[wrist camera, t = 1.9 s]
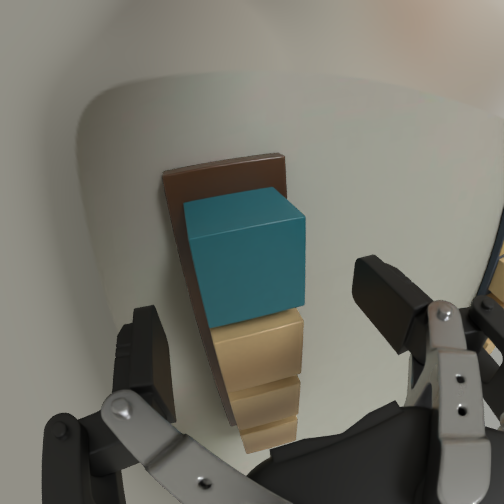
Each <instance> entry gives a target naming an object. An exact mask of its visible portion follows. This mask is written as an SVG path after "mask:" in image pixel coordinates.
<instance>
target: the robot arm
mask: <svg viewBox="0 0 504 504" xmlns="http://www.w3.org/2000/svg"><path fill="white" fill-rule="evenodd" d="M352 295H353V298H354V301H355V303H356V304H357V305H358V306H359V307H360V309H361V310H362V311H363V312H364V313H365V315H366V316H367V317H368V318H369V319H370V321H371V322H372V323H373V324H374V325H375V327H376V328H377V329H378V330H379V332H380V333H381V334H382V335H383V336H384V338H385V339H386V340H387V341H388V343H389V344H390V345H391V346H392V348H393V349H394V350H395V351H396V353H397V354H398V355H399V354H402V353H404V352H406V351H408V350H409V351H410V353H411V354H410V357H409V370H408V388H407V397H406V401H405V404H404V407H399V405H398V404H397V402H396V401H393V402H391V403H389V404H387V405H385V406H383V407H381V408H378V409H376V410H374V411H372V412H370V413H368V414H367V415H366V416H364V417H363V418H362V419H361V420H359V421H358V422H357V423H355V424H354V425H353V426H351V427H350V428H349V429H347V430H346V431H345V432H343V433H341V434H337V435H330V436H323V437H316V438H307V439H302V440H299V441H296V442H293V443H290V444H287V445H283V446H280V447H276V448H273V449H270V458H268V459H266V460H264V461H263V462H261V463H260V464H259V465H257V466H256V467H255V468H254V469H253V470H251V471H250V472H249V473H248V475H247V476H245V475H244V474H242V473H240V472H239V471H237V470H236V469H234V468H233V467H231V466H230V465H229V464H227V463H226V462H224V461H223V460H221V459H220V458H219V457H217V456H216V455H214V454H213V453H212V452H210V451H209V450H208V449H206V448H205V447H204V446H202V445H201V444H200V443H198V442H197V441H196V440H195V439H193V438H192V437H190V436H189V435H187V434H182V433H181V432H180V431H178V430H177V429H176V428H175V427H174V426H172V425H171V424H170V423H175V422H176V415H175V406H174V398H173V388H172V378H171V367H170V355H169V346H168V341H167V338H166V335H165V332H164V329H163V327H162V324H161V321H160V319H159V316H158V313H157V311H156V308H155V306H154V305H150V306H145V307H140V308H135V309H134V312H133V323H130V324H125V325H123V327H122V329H121V330H120V332H119V334H118V336H117V344H116V347H117V349H116V353H115V356H116V358H115V364H114V375H113V389H112V394H110V395H109V396H108V397H107V398H106V399H105V401H104V402H103V404H102V407H101V410H100V411H98V412H96V413H94V414H91V415H89V416H86V417H84V418H81V419H78V420H77V419H76V418H75V417H74V416H72V415H71V414H69V413H60V414H57V415H55V416H53V417H52V418H51V419H50V420H49V421H48V422H47V424H46V426H45V429H44V437H43V453H42V504H126V501H125V494H124V488H123V481H122V473H121V470H122V469H125V468H127V467H130V466H132V465H135V464H137V463H141V464H142V465H143V466H144V467H145V469H146V471H147V472H148V473H149V474H150V475H151V476H152V477H153V478H154V479H155V480H156V481H157V482H159V484H161V485H162V486H163V487H164V488H165V489H166V490H167V491H168V492H169V493H170V494H172V495H173V496H174V497H175V498H176V499H177V500H178V501H180V502H181V503H182V504H504V308H502V307H501V306H500V305H499V304H498V303H497V302H496V301H495V300H494V299H492V298H490V297H488V296H485V295H478V296H476V297H475V298H474V299H473V301H472V304H471V306H470V307H467V308H460V309H458V308H457V307H456V306H455V305H453V304H452V303H450V302H447V301H443V300H437V301H433V300H432V299H431V298H430V297H429V296H428V295H427V294H425V293H424V292H423V291H422V290H421V289H420V288H419V287H418V286H417V285H415V284H414V283H413V282H411V280H410V279H409V278H408V277H405V275H404V274H403V273H402V272H401V271H400V270H398V269H397V268H395V267H393V266H391V265H389V264H387V263H384V262H383V261H382V260H380V259H379V258H378V257H377V256H376V255H369V256H365V257H362V258H358V259H357V260H356V262H355V268H354V277H353V285H352ZM488 338H489V339H490V341H491V342H492V343H493V344H494V345H495V346H496V347H497V348H498V349H499V351H500V352H501V353H502V356H503V362H502V364H501V366H500V367H499V365H498V364H497V363H496V362H495V361H494V359H493V358H492V357H491V356H490V355H489V354H488V352H487V351H486V350H485V349H484V348H483V346H484V344H485V342H486V340H487V339H488ZM483 398H484V400H485V401H486V403H487V404H488V405H489V406H490V408H491V410H492V411H493V412H494V414H495V415H496V417H497V418H498V420H499V421H500V425H501V426H500V427H499V428H498V430H496V429H492V428H489V427H485V422H484V406H483Z"/></svg>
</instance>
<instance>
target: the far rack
mask: <svg viewBox="0 0 504 504" xmlns="http://www.w3.org/2000/svg"><path fill="white" fill-rule="evenodd" d="M478 295H485V296H488V297H490V298H492V299H494V300H495V301H496V302H497V303H498V304H499V305H500V306H501V307H502V308H504V211H503V215H502V219H501V223H500V227H499V231H498V235H497V238H496V242H495V245H494V248H493V252H492V255H491V258H490V261H489V264H488V267H487V270H486V273H485V275H484V278H483V281H482V284H481V286H480V289H479V291H478V294H477V296H478ZM483 348H484V349H485V350H486V351H487V352H488V354H491V353H492V351H493V350H494V348H495V345H494V344H493V343H492V342H491V341H490V339H489V338H488V339H487V340H486V342H485V344H484V346H483Z"/></svg>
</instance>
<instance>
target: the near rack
mask: <svg viewBox="0 0 504 504" xmlns="http://www.w3.org/2000/svg"><path fill="white" fill-rule="evenodd" d="M162 179H163V184H164V189H165V194H166V199H167V204H168V208H169V213H170V218H171V222H172V227H173V231H174V236H175V240H176V244H177V248H178V253H179V257H180V261H181V265H182V269H183V273H184V277H185V281H186V284H187V288H188V292H189V296H190V299H191V303H192V307H193V310H194V314H195V317H196V321H197V324H198V328H199V331H200V335H201V338H202V341H203V345H204V348H205V351H206V355H207V358H208V361H209V364H210V367H211V370H212V374H213V377H214V380H215V383H216V386H217V389H218V392H219V395H220V398H221V400H222V403H223V406H224V409H225V412H226V415H227V418H228V420H229V423H230V426H235V425H237V426H238V429H239V432H240V436H241V439H242V442H243V445H244V448H245V451H246V453H247V454H249V453H253V452H257V451H261V450H264V449H268V448H272V447H275V446H279V445H282V444H285V443H289V442H292V441H295V440H296V432H297V421H298V419H297V417H296V415H297V414H298V410H299V397H300V383H301V382H300V380H299V378H298V376H297V374H300V373H301V366H302V348H303V325H304V321H303V319H302V317H301V316H300V314H299V312H298V310H297V309H296V308H292V309H288V310H284V311H280V312H277V313H273V314H269V315H265V316H261V317H257V318H253V319H249V320H244V321H240V322H236V323H232V324H227V325H223V326H218V327H214V328H209V326H208V322H207V318H206V314H205V310H204V306H203V302H202V298H201V294H200V289H199V285H198V281H197V277H196V272H195V268H194V263H193V259H192V254H191V250H190V245H189V241H188V234H187V227H186V220H185V213H184V206H183V203H185V202H190V201H195V200H200V199H205V198H210V197H216V196H221V195H227V194H232V193H238V192H244V191H250V190H256V189H262V188H268V187H274V188H275V189H276V190H277V191H278V192H279V193H280V194H281V195H282V196H284V197H285V198H286V199H287V187H286V167H285V156H284V155H282V154H280V153H270V154H263V155H255V156H248V157H241V158H234V159H228V160H221V161H215V162H209V163H204V164H198V165H193V166H187V167H182V168H177V169H172V170H167V171H164V172H163V175H162Z"/></svg>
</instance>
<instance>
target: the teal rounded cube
mask: <svg viewBox="0 0 504 504" xmlns="http://www.w3.org/2000/svg"><path fill="white" fill-rule="evenodd" d="M183 206H184V213H185V220H186V227H187V234H188V241H189V245H190V250H191V254H192V259H193V263H194V268H195V272H196V277H197V281H198V285H199V289H200V294H201V298H202V302H203V306H204V310H205V314H206V318H207V322H208V326H209V328H214V327H218V326H223V325H227V324H232V323H236V322H240V321H244V320H249V319H253V318H257V317H261V316H265V315H269V314H273V313H277V312H280V311H284V310H288V309H292V308H296V307H299V306H303V305H304V303H305V244H306V228H305V216H304V215H303V214H302V213H301V212H300V211H299V210H298V209H297V208H296V207H295V206H294V205H292V204H291V203H290V202H289V201H288V200H287V199H286V198H285V197H284V196H282V195H281V194H280V193H279V192H278V191H277V190H276V189H275V188H274V187H268V188H262V189H256V190H250V191H244V192H238V193H232V194H227V195H221V196H216V197H210V198H205V199H200V200H195V201H190V202H185V203H183Z"/></svg>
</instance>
